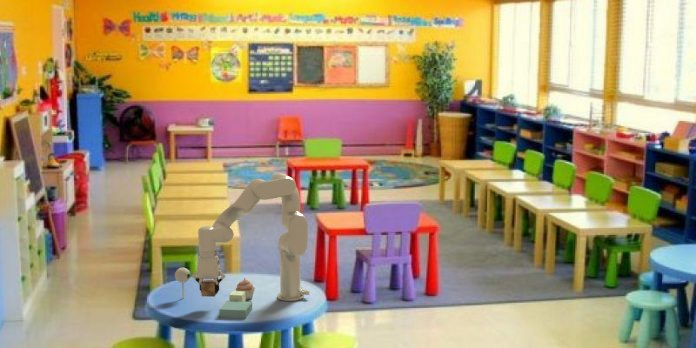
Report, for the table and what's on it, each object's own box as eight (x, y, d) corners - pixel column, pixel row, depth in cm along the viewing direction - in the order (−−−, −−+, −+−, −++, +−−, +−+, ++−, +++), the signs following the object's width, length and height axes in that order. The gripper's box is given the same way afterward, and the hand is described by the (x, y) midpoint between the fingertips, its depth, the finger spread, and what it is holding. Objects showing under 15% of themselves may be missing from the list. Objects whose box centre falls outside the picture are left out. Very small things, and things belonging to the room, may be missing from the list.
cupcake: (238, 294, 425) (238, 274, 423) (257, 295, 423) (257, 275, 421) (232, 300, 416) (232, 280, 414) (252, 301, 414) (251, 281, 412)
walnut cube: (217, 292, 406) (217, 279, 405) (214, 296, 400) (213, 283, 399) (205, 292, 407) (204, 279, 406) (201, 296, 401) (200, 283, 400)
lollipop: (186, 301, 414) (185, 270, 412) (172, 299, 417) (171, 269, 414) (193, 297, 421) (192, 266, 418) (180, 295, 423) (179, 265, 421)
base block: (252, 310, 403) (252, 302, 402) (246, 319, 391) (245, 310, 390) (226, 309, 404) (226, 301, 404) (219, 317, 393) (219, 309, 392)
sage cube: (245, 303, 411) (245, 291, 410) (242, 308, 405) (242, 295, 404) (232, 303, 412) (232, 291, 411) (229, 307, 406) (229, 294, 405)
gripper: (228, 251, 403) (230, 290, 406) (191, 251, 405) (193, 289, 408) (224, 256, 395) (226, 295, 398) (186, 255, 397) (188, 294, 400)
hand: (209, 291), depth 403 cm, fingers closed on walnut cube, 6 cm apart
